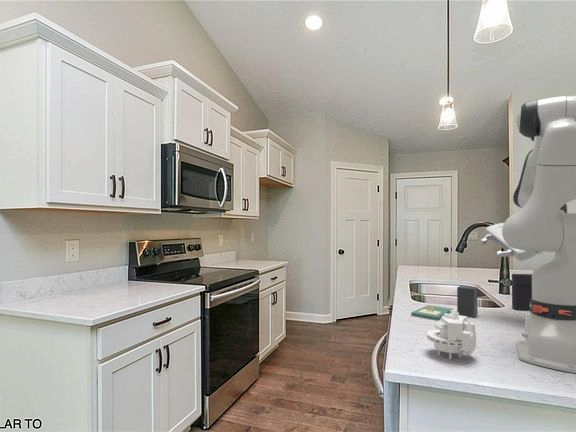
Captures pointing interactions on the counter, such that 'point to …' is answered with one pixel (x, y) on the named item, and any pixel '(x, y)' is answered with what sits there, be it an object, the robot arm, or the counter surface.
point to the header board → (431, 312)
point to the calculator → (521, 291)
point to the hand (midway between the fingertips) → (488, 248)
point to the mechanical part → (453, 334)
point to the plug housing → (467, 301)
